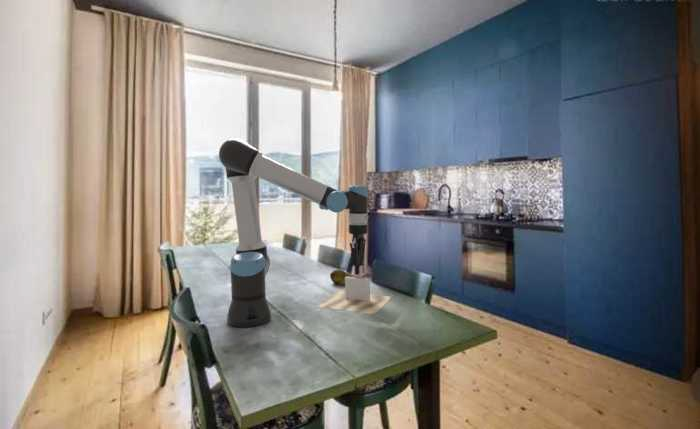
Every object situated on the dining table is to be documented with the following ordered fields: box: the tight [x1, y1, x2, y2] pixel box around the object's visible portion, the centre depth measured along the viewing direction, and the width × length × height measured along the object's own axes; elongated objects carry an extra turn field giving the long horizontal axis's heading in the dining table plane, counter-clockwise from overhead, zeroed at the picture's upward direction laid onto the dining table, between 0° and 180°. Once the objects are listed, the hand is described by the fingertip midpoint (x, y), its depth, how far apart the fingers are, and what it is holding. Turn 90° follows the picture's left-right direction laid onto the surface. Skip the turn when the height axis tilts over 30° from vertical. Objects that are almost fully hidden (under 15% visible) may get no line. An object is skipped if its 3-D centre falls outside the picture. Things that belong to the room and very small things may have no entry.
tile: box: [344, 276, 371, 301], centre depth 145 cm, size 10×2×9 cm, turn 69°
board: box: [315, 290, 392, 315], centre depth 143 cm, size 24×22×2 cm
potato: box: [329, 269, 354, 287], centre depth 169 cm, size 8×13×8 cm, turn 63°
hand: (358, 281), depth 146 cm, fingers closed
